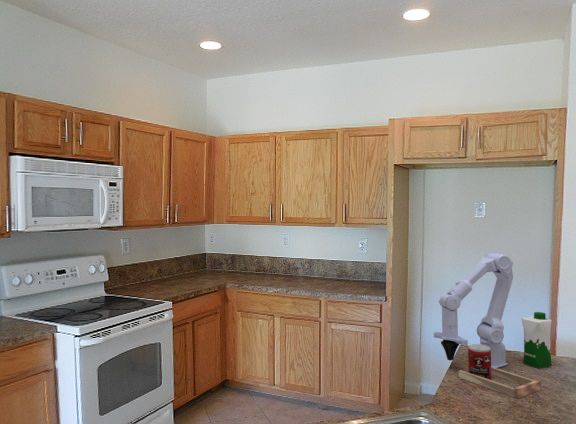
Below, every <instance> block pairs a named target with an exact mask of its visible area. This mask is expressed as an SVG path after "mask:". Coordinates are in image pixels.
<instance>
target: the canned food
mask: <svg viewBox="0 0 576 424" xmlns="http://www.w3.org/2000/svg"><path fill="white" fill-rule="evenodd" d="M467 346H468V347H467V350H468V351H467V355H468V357H467V359H468V360H467V361H468V373H471V374H474V375H477V376H480V377H483V378H486V379H489V380H492V375H491V348H490V347H489V346H486V345H481V344H480V343H478V344H477V343H475V344H468V345H467Z"/></svg>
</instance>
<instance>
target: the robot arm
mask: <svg viewBox="0 0 576 424" xmlns="http://www.w3.org/2000/svg"><path fill="white" fill-rule="evenodd" d="M513 264H514V262H513V260H512V259H511V258H510V256H509V255H507V254H505V253H496V252H492V251H491V252H488V253H486V254H485V255H484V256H483V257H482V258H481V259H480V261H479V263H478V264H477V265H476V266H475V267H474V268H473V270H472V271H470V273H469V274H468V275H467V276H466V278H464V279H460V280H456V282H455V284H454V285H453V287H451V288H450V289H448V290H447V293H443V294H442V295H441V296H440V297H439V300H438V303H439V305H440V307H441V324H442V325H441V331H442V332H440V331H434V332H433V338H435V339H436V338H438V339H440V344H441V346H442V348H443V350H444V353H445V355H446V360H447V361H454V359H455V355H456V353H457V349H458V347H459V346H460V345H461V346H464V347H465V346H469V342H468V339H466V338H463V337H461V336H459V334H458V333H459V329H458V328H459V327H458V326H459V325H458V309H459V308H460V307H461V303H462V301H463V300H464V299H465V298H466V297H467V296H468V295H469V294H470V292H472V291H473V285H474V284H475V283H477V282H478V281H479V280H480V279H481V278H482V277H483V276H485V275H486V273H493V274H494V276H495V277H496V281H495V283H494V287H493V292H492V295H491V298H490V302H489V305H488V309H487V313H486V315H485V316H484V317H482V318H481V320H480V323H479V324H478V325H477V327H476V334H477V336H478V337H479V341H480V342H479V344H481V345H486V346H489V347H490V348H491V367H494V368H497V369H499V368H501V367H504V366H507V365H508V363H507V362H506V360H507V359H506V355H507V354H506V347H505V344H504V343H503V341H504V336H505V335H504V328H505V326H504V324H503V322H502V319H503V315H504V312H505V308H506V304H507V301H508V298H509V294H510V289H511V287H512V284H513V279H514V273H513ZM441 340H442V341H441Z"/></svg>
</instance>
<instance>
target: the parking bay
mask: <svg viewBox="0 0 576 424" xmlns="http://www.w3.org/2000/svg"><path fill="white" fill-rule="evenodd" d="M491 376H495V377H497V378H500V379H503V380H507V381H510V382H513V383H515V384H519V385H520V386H517V387H512V386H509V385H506V384H503V383H500V382H498V381H494V380H493V379H490V380H489V379H486V378H483V377H480V376H477V375H474V374H471V373H469V371H468V372H467V371H464V370H458V378H459V379H461V380H465V381H467V382H471V383H472V384H476V385H478V386H481V387H484V388H487V389H489V390H493V391H496V392H499V393H501V394H504V395H507V396H510V397H513V398H514V399H521V398H523V397H526V396H529V395H531V394H533V393H536V392H539V391H541V390H542V380H540V379H532V378H528V377H525V376H522V375H520V374H516V373H512V372H509V371H506V370H503V369H500V368H494V367H491Z"/></svg>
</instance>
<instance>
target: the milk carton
mask: <svg viewBox="0 0 576 424" xmlns="http://www.w3.org/2000/svg"><path fill="white" fill-rule="evenodd" d="M546 315H547V314H546V313H545V312H540V311H535V312H533V316H525V317H523V318H521V323H522V327H523V362H522V363H523V364H524V365H528V366H530V367H533V368H537V369H539V370H540V369H543V368H548V367H552V352H551V351H552V350H551V348H552V347H551V331H552V329H551V328H552V321H553V320H552V319H549V318H546V317H547V316H546Z"/></svg>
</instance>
